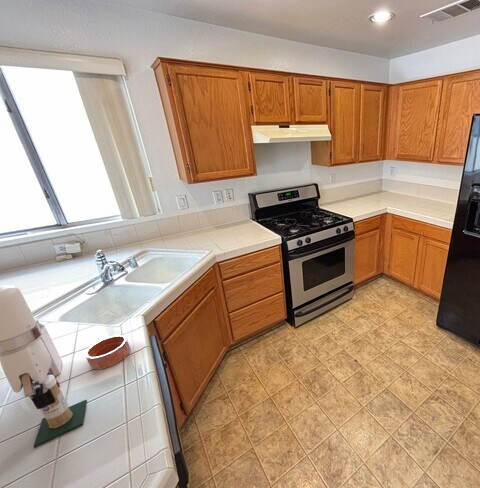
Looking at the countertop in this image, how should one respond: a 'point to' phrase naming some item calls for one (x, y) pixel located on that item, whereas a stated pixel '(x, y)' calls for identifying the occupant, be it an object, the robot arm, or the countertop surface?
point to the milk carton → (50, 350)
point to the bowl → (107, 352)
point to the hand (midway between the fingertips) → (49, 397)
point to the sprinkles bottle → (55, 405)
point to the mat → (75, 422)
